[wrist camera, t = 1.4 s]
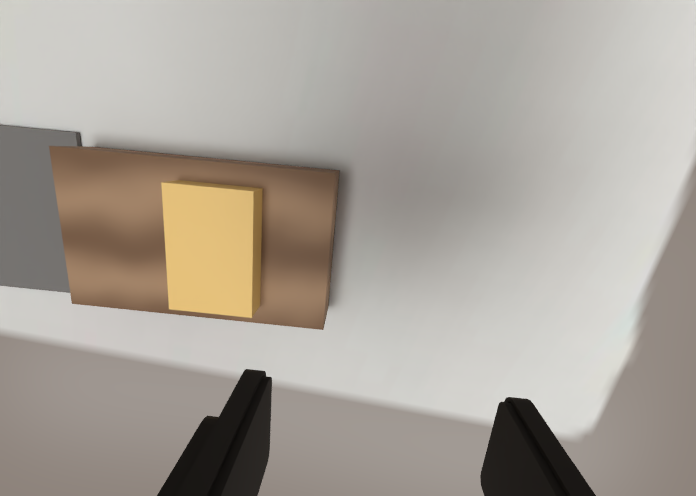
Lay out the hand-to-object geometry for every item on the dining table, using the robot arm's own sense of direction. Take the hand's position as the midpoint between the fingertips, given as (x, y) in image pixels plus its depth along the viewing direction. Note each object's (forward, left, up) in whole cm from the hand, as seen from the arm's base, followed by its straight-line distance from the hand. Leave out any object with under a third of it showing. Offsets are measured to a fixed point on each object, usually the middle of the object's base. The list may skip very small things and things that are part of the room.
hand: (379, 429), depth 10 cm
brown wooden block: (0, -13, -20) cm, 24 cm away
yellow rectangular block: (0, -11, -16) cm, 19 cm away
